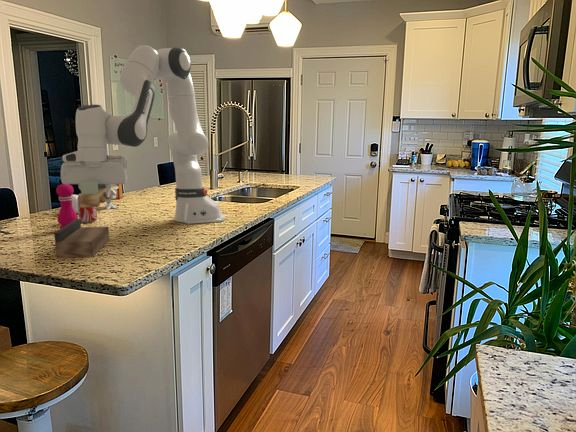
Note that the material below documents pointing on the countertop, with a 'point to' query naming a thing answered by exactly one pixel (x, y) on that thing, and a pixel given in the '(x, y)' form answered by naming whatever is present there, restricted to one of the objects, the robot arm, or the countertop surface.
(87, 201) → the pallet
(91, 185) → the block
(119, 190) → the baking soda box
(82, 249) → the block
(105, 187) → the block
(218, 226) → the countertop surface
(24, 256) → the countertop surface
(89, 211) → the soda can
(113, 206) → the flower vase
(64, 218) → the pepper mill
